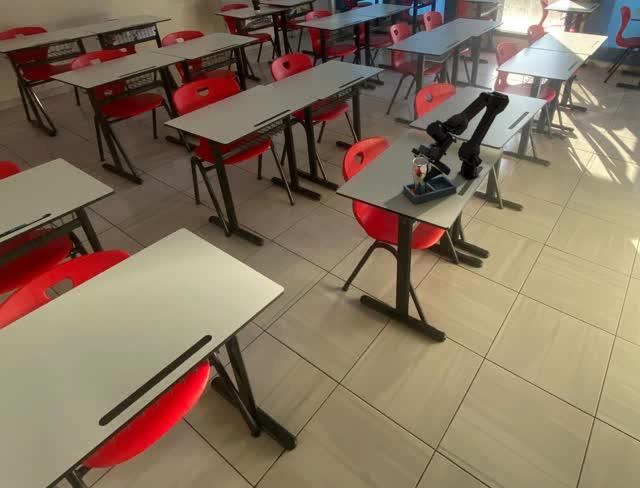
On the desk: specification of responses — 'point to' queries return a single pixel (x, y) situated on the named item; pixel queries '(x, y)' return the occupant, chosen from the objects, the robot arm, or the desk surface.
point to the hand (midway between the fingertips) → (418, 178)
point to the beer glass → (420, 175)
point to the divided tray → (431, 189)
